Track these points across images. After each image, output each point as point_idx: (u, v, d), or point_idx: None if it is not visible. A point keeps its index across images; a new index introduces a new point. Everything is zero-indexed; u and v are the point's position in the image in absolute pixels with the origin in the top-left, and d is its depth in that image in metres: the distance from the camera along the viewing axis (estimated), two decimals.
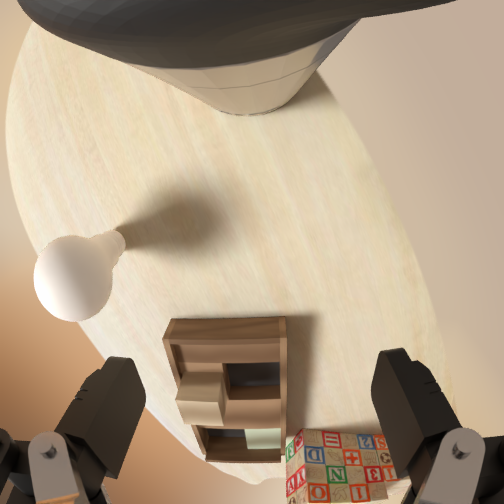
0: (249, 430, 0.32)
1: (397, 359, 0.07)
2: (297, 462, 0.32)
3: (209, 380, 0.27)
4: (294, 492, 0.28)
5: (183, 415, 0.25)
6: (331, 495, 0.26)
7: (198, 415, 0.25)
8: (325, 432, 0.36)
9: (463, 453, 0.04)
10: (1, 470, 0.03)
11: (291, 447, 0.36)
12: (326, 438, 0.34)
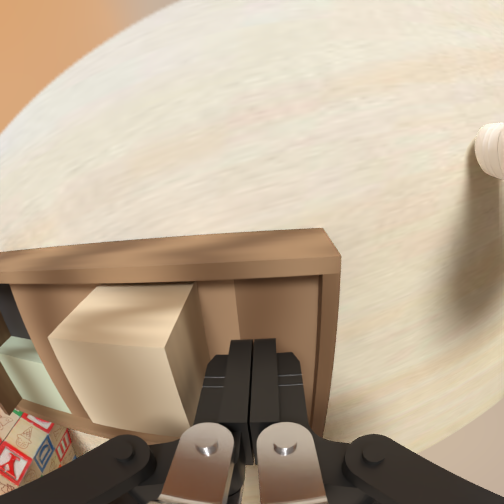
0: (43, 370, 0.13)
1: (263, 347, 0.09)
2: (18, 434, 0.14)
3: (201, 361, 0.11)
4: None
5: (88, 348, 0.07)
6: None
7: (107, 386, 0.08)
8: (67, 432, 0.19)
9: (280, 448, 0.05)
10: (117, 488, 0.04)
11: None
12: (62, 440, 0.18)
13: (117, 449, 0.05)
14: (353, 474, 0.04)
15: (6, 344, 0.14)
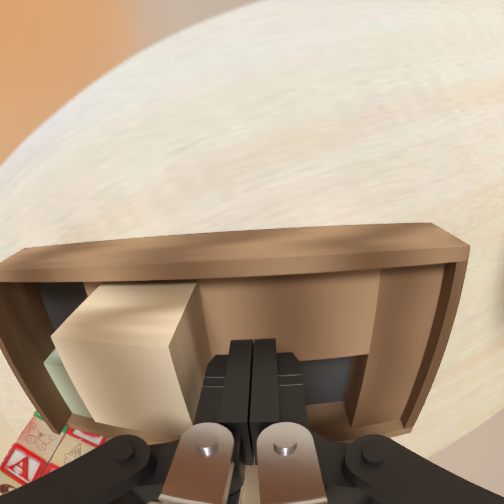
0: None
1: (263, 347, 0.09)
2: (65, 453, 0.14)
3: (204, 360, 0.11)
4: None
5: (91, 347, 0.07)
6: None
7: (110, 385, 0.08)
8: None
9: (280, 448, 0.05)
10: (117, 488, 0.04)
11: None
12: None
13: (117, 449, 0.05)
14: (353, 474, 0.04)
15: (56, 353, 0.14)
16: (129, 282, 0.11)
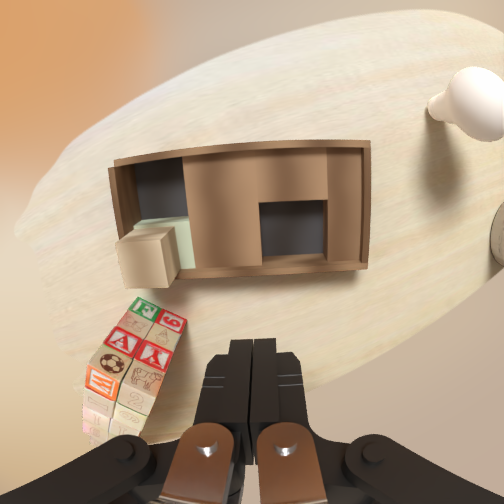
0: (185, 227, 0.26)
1: (263, 347, 0.09)
2: (156, 334, 0.27)
3: (175, 261, 0.26)
4: (128, 356, 0.23)
5: (132, 244, 0.22)
6: None
7: (136, 262, 0.23)
8: None
9: (280, 448, 0.05)
10: (117, 488, 0.04)
11: (150, 309, 0.30)
12: None
13: (117, 449, 0.05)
14: (353, 474, 0.04)
15: (141, 222, 0.27)
16: (145, 228, 0.26)
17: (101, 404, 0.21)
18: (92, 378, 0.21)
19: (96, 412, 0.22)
